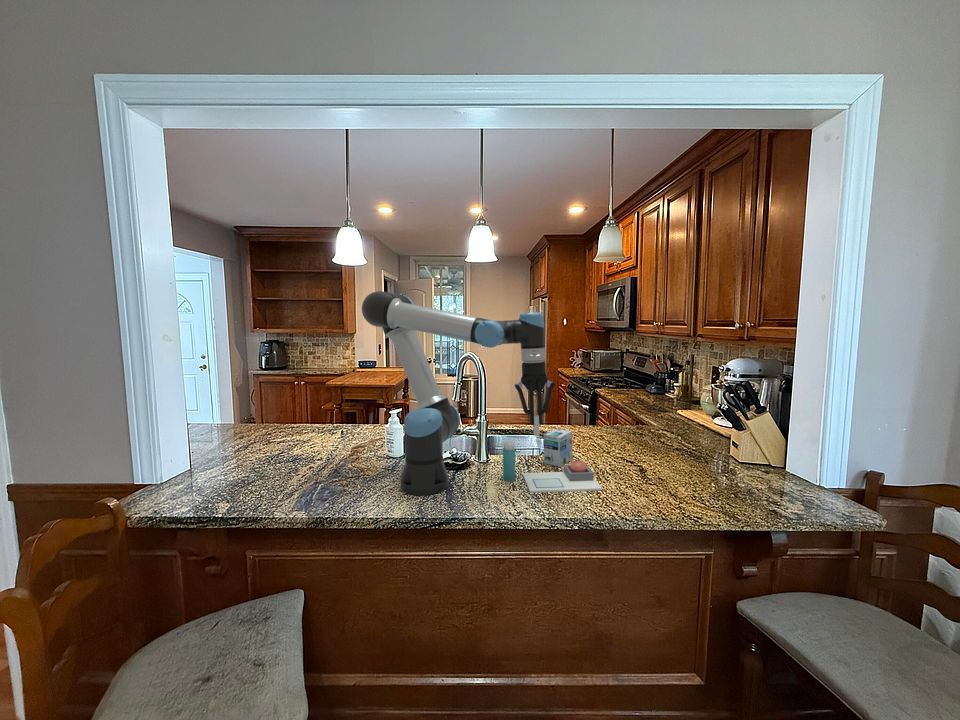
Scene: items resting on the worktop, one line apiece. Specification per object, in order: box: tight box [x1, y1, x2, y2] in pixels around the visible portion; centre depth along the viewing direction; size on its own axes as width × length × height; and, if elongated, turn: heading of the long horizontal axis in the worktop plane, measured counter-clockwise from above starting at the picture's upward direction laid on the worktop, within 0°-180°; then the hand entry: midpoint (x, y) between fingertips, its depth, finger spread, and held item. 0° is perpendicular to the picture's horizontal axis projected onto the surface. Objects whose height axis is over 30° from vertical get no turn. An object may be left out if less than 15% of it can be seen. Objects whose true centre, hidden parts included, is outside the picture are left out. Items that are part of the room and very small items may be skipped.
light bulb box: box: [543, 428, 573, 468], centre depth 145 cm, size 11×7×11 cm, turn 143°
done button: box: [569, 460, 587, 473], centre depth 129 cm, size 5×5×3 cm
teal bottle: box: [502, 441, 516, 482], centre depth 129 cm, size 4×4×12 cm
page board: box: [522, 464, 603, 494], centre depth 126 cm, size 22×14×3 cm, turn 93°
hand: (536, 434), depth 127 cm, fingers closed
